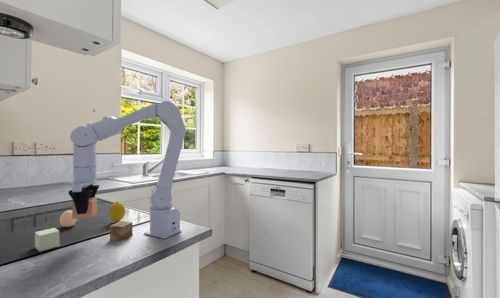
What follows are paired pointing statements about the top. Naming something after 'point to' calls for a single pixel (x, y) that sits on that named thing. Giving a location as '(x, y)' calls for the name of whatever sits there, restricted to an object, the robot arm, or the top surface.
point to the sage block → (47, 239)
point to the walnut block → (121, 231)
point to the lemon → (116, 211)
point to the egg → (67, 219)
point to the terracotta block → (90, 211)
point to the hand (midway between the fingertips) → (85, 211)
